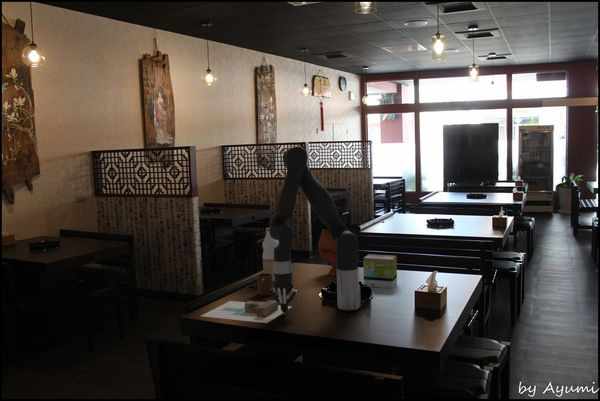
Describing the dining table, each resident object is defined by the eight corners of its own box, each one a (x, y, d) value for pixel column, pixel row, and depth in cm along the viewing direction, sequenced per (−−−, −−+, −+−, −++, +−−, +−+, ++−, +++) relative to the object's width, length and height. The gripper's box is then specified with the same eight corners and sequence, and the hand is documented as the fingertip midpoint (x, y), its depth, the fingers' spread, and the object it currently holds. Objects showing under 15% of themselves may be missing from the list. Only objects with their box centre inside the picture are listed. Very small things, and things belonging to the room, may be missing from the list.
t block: (278, 309, 234) (277, 300, 233) (265, 317, 223) (265, 308, 223) (253, 307, 239) (253, 298, 238) (240, 315, 228) (239, 305, 227)
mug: (270, 298, 253) (270, 279, 252) (254, 298, 253) (254, 279, 252) (274, 292, 265) (273, 273, 264) (259, 292, 265) (258, 273, 264)
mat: (292, 306, 238) (292, 306, 238) (267, 323, 216) (267, 322, 216) (229, 301, 251) (229, 300, 251) (200, 316, 229) (200, 316, 229)
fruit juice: (265, 282, 285) (262, 230, 283) (262, 278, 294) (260, 227, 292) (282, 280, 287) (280, 228, 285) (279, 277, 296) (277, 226, 294)
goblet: (360, 272, 299) (359, 228, 297) (339, 279, 285) (338, 233, 282) (333, 268, 312) (331, 226, 309) (312, 275, 297) (310, 230, 295)
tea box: (363, 287, 268) (362, 257, 266) (368, 282, 277) (367, 253, 276) (393, 288, 262) (392, 258, 261) (397, 283, 271) (396, 254, 270)
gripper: (301, 270, 225) (302, 310, 226) (272, 268, 230) (274, 308, 232) (293, 274, 218) (295, 315, 220) (264, 272, 223) (266, 313, 225)
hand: (284, 311), depth 226 cm, fingers closed
